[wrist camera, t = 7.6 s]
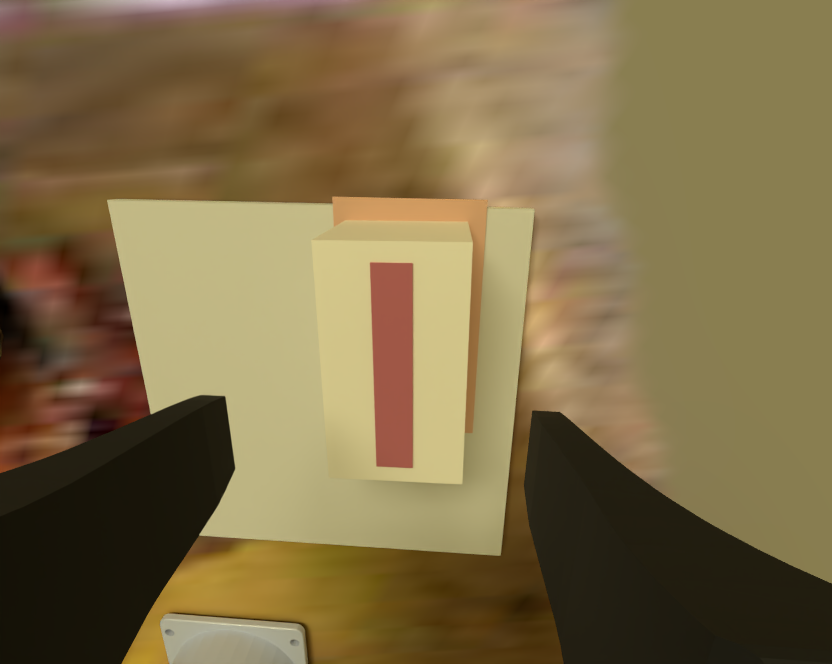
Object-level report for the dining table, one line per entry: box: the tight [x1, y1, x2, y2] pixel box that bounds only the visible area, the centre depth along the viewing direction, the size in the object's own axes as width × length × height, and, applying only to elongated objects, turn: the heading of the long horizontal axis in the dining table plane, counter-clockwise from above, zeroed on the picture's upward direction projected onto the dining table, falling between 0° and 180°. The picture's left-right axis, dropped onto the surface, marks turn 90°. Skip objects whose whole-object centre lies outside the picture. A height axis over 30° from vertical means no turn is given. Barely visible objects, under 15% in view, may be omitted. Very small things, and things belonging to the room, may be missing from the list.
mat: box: [107, 197, 535, 556], centre depth 20 cm, size 16×16×1 cm
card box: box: [311, 220, 473, 484], centre depth 17 cm, size 4×8×5 cm, turn 0°
